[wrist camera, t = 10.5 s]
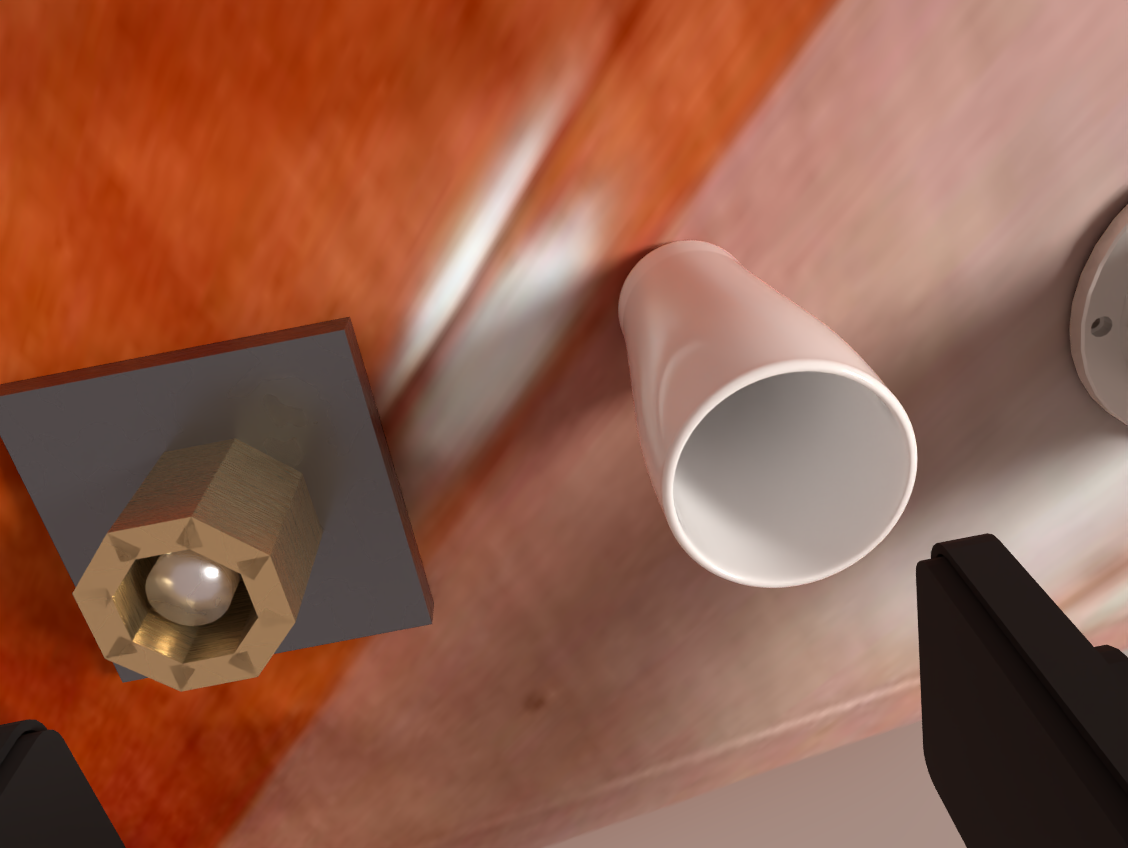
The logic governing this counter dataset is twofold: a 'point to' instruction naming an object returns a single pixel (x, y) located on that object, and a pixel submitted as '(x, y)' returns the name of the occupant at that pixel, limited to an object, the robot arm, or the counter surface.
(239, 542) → the hub ring
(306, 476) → the shaft block
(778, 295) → the drinking glass
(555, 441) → the counter surface
